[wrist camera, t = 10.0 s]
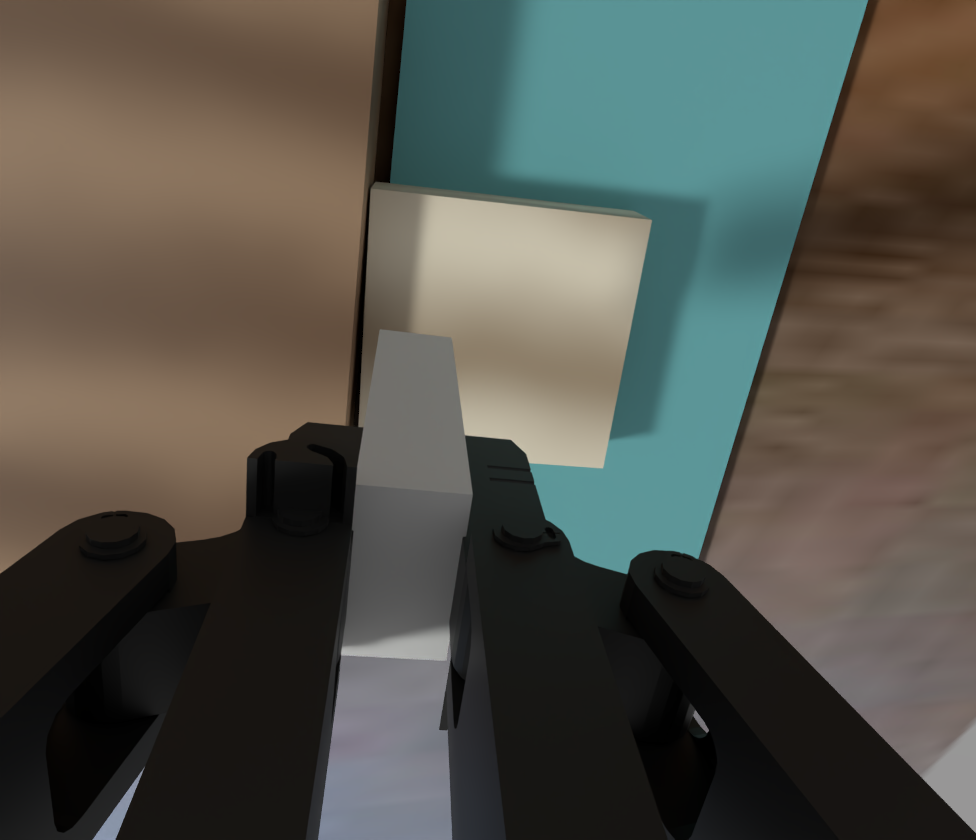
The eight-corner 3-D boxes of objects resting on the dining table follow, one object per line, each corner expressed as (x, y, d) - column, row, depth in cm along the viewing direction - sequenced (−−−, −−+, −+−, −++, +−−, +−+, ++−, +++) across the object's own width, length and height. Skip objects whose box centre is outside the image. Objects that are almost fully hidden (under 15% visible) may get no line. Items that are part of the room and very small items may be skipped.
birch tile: (375, 181, 22) (370, 188, 20) (634, 210, 23) (652, 219, 21) (362, 425, 25) (357, 450, 23) (590, 442, 26) (603, 468, 24)
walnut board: (-250, -135, 18) (-420, -195, 15) (390, -20, 20) (382, -47, 17) (-126, 493, 25) (-220, 559, 22) (344, 533, 27) (331, 600, 24)
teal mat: (420, -147, 19) (420, -153, 19) (875, -54, 21) (885, -58, 20) (351, 600, 28) (350, 608, 28) (672, 624, 30) (675, 632, 30)
